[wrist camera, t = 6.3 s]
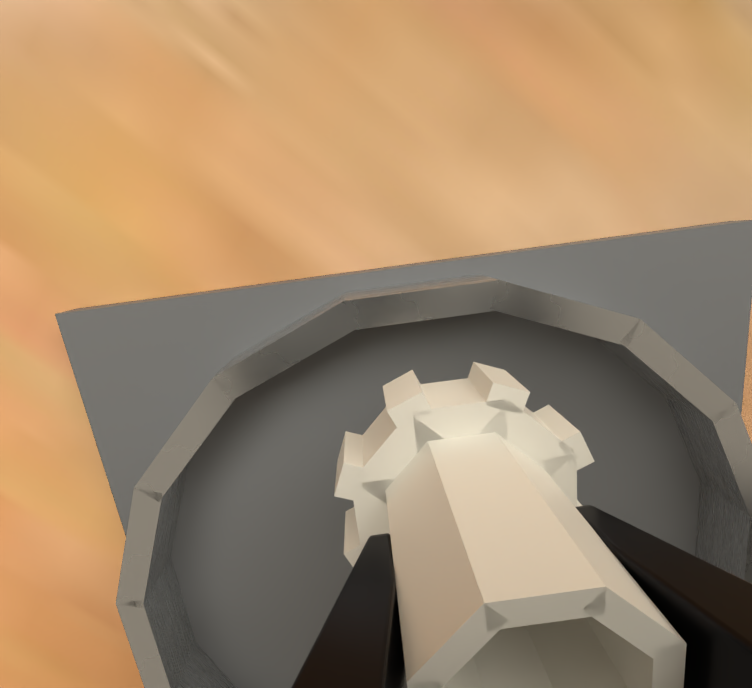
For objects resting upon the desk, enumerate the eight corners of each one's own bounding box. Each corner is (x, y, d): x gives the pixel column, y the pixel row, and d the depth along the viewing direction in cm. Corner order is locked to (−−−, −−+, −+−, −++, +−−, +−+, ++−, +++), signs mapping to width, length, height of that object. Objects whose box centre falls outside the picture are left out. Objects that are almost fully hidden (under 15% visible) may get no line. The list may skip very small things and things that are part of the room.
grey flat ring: (741, 238, 13) (807, 237, 11) (701, 729, 18) (743, 788, 16) (76, 328, 13) (26, 344, 11) (223, 801, 18) (206, 869, 16)
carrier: (730, 221, 14) (837, 215, 11) (694, 711, 19) (759, 802, 16) (76, 308, 14) (-6, 329, 11) (221, 782, 19) (194, 888, 16)
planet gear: (559, 350, 10) (795, 478, 5) (563, 550, 11) (748, 828, 6) (324, 380, 10) (286, 546, 5) (356, 579, 11) (355, 886, 6)
